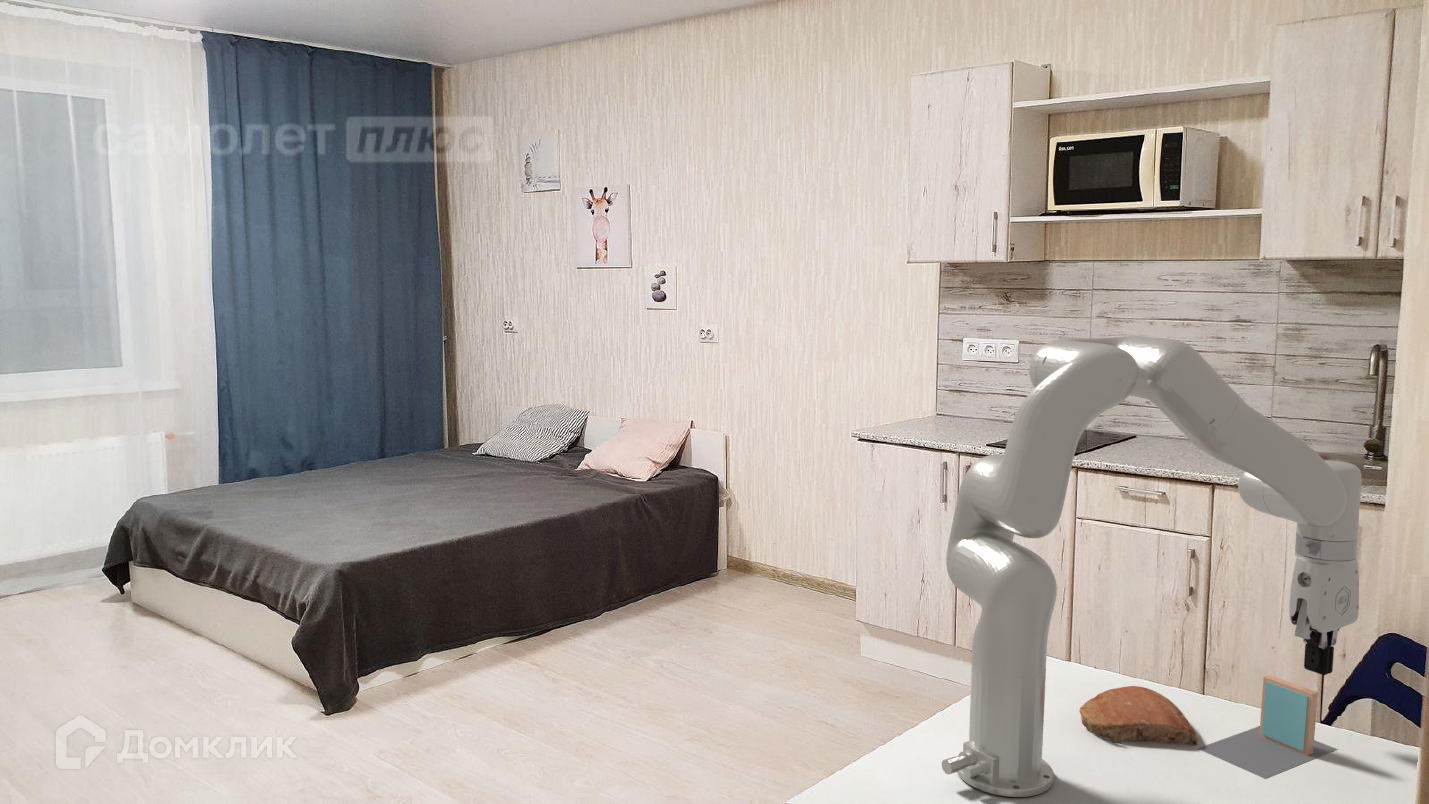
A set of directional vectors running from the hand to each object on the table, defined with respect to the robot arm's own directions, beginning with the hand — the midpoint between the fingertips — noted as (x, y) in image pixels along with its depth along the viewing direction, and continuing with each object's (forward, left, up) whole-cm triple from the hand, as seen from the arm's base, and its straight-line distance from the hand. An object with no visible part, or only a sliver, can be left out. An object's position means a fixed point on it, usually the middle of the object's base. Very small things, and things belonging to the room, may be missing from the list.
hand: (1318, 670), depth 148 cm
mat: (-10, +1, -10) cm, 14 cm away
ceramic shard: (-20, +16, -11) cm, 28 cm away
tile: (-6, 0, -10) cm, 12 cm away
